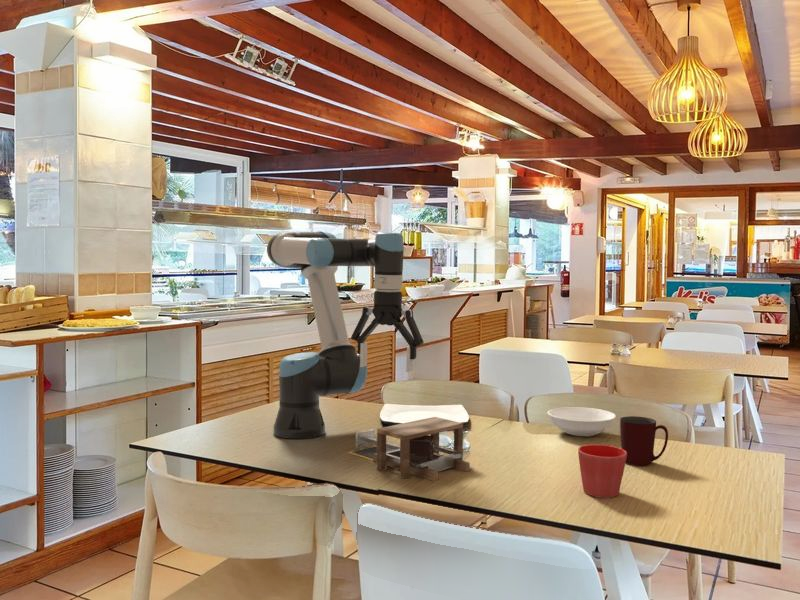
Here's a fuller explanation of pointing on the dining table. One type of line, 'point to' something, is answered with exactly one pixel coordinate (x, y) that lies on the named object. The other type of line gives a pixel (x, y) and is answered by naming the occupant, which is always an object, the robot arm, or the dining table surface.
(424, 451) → the box
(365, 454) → the mat
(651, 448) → the mug
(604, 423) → the bowl
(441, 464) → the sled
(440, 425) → the tunnel
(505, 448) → the dining table surface
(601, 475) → the flower pot
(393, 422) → the plate
